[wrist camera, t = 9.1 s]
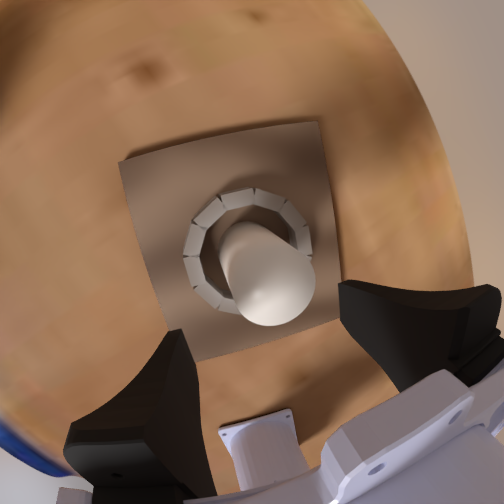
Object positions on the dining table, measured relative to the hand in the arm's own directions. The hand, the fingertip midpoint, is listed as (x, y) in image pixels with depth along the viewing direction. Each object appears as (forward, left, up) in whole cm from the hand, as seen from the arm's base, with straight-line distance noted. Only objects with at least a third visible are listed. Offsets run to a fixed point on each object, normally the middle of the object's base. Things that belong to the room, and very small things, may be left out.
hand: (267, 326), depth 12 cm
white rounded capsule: (+1, -1, -8) cm, 8 cm away
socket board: (+1, -1, -9) cm, 9 cm away
